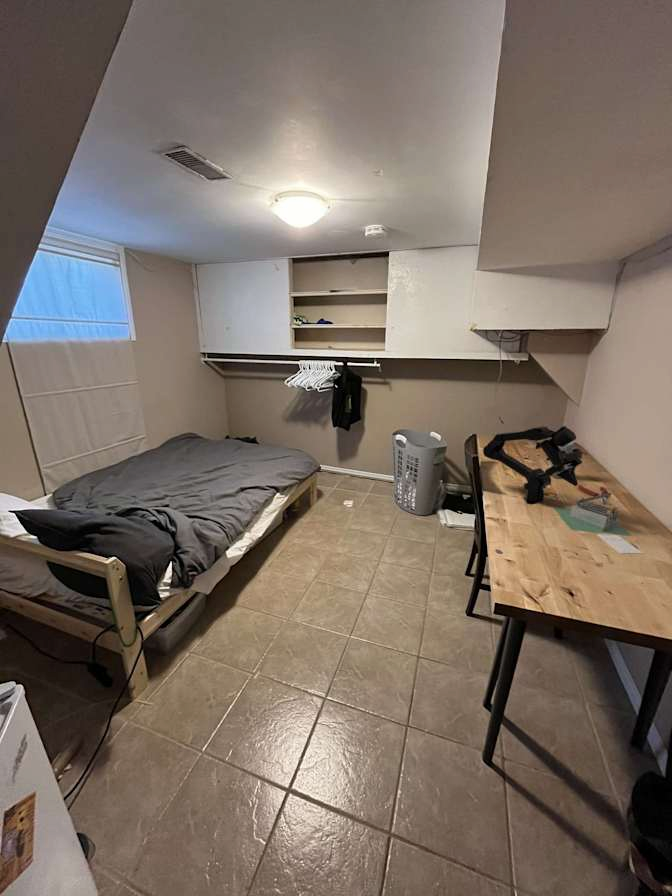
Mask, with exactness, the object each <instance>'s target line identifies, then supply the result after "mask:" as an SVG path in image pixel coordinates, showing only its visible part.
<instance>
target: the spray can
mask: <svg viewBox="0 0 672 896" xmlns="http://www.w3.org/2000/svg"><path fill="white" fill-rule="evenodd" d="M558 447H559V448H560V449H561V451H563V450H564V451H566V453H570V452H572V450H573V449H575V448H574V447H575V443H574V441H572V442H570V443H569V444H567V445H565V446H564V447H561V446H558ZM552 466H553V464H552V463H551V466H550V467H552ZM557 474H559V473H558V472H556V473H554V474H552V476H551V478H552V477H553V478H557V479H561V478H560V477H559V476H556V475H557Z"/></svg>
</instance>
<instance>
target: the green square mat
mask: <svg viewBox="0 0 672 896" xmlns="http://www.w3.org/2000/svg"><path fill="white" fill-rule="evenodd" d="M552 508H553V510H554V511H556V513H557V514H558V515H559V517H560V518H561V519H562V520H563V521H564V523H565V524H566V525H567V526H568V528H569V530H571V531H577V532H578V531H579V532H587V533H598V534H605V535H618V536H628V537H633V535H631V533H630V532H628V531H627V530H626V529H625V528H624V527H623V526H621V524H620V523H619V522H617V523H616V524H615V525H613V526H611V527H609V528H607V529H606V530H604V531H600V530H598V529H595V528H592V527H590V526H587V525H584V524H582V523H579V522H576V521H574V520H571V519H569V515H571V510H572V508H563V507H552Z"/></svg>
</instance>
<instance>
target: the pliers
mask: <svg viewBox="0 0 672 896" xmlns="http://www.w3.org/2000/svg"><path fill="white" fill-rule="evenodd" d="M577 489H578V490H579V492H581V491H582V493H583V492H584V493H583V494H585V493H586V494H585V495H587V496H590V495H591V496H590V497H592V496H593V497H595V496H599V495H603V494H607V493H608V490H607V489H606V488H605V487H603V486H600V487H599V491H601V494H600V493H598V492H596V491H593V490H592V489H591V490H590V489H588V488H586V487H584V486H583V485H582V484H578V485H577ZM608 497H609V496H607V497H603V498H599V499H597V501H599V502H600V504H603V505H604V503H605V502H606V503H605V504H608V505H612V503H611V502H610V501H609V500H608ZM603 500H604V501H603Z"/></svg>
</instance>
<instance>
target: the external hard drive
mask: <svg viewBox="0 0 672 896" xmlns="http://www.w3.org/2000/svg"><path fill="white" fill-rule="evenodd" d="M597 536H598V537H599V538H600V539H601V540H603V541H604V542H605V543H607V545H609V546H610V547H611V548H613V549H614V550H615V551H616V552H618V553H619V554H634V555H645V553H644V552H643V551H641V550H639V549H638V548H637V547H636V546H634V545H633V544H631V543H630V542H629V541H627V540H626V539H624V538H622V537H621V535H615V534H611V535H604V534H597Z"/></svg>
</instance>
